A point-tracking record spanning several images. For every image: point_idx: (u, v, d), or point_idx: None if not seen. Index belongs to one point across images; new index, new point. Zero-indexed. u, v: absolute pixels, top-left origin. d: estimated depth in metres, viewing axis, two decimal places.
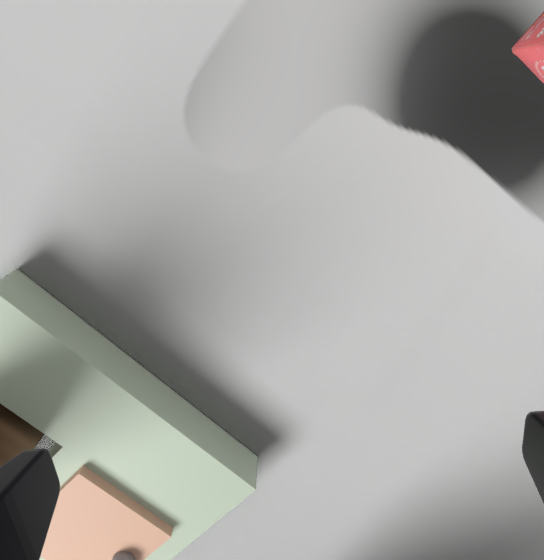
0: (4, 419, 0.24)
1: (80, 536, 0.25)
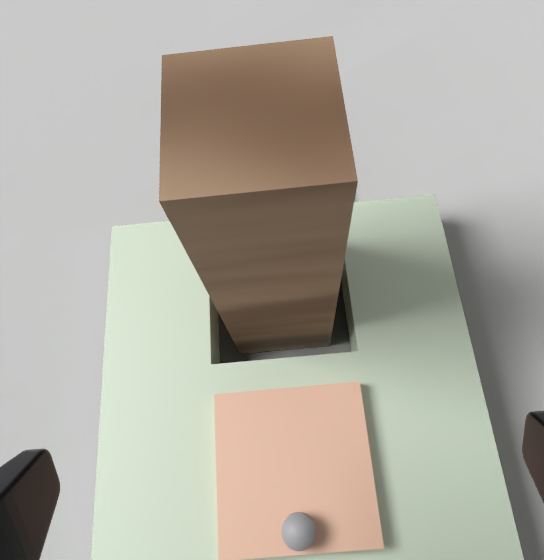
0: None
1: (283, 454, 0.19)
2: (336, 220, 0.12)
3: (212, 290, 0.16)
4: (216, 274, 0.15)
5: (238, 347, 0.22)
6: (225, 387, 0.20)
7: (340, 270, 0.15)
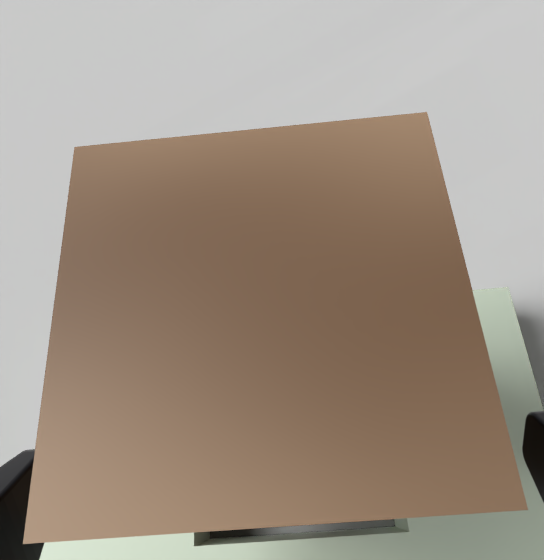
0: None
1: None
2: None
3: None
4: None
5: None
6: None
7: None
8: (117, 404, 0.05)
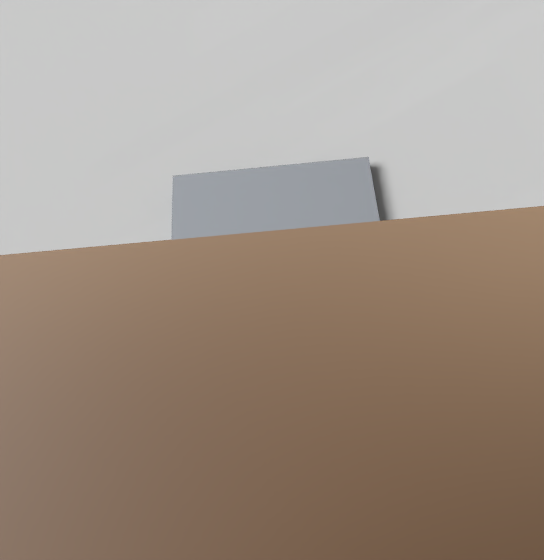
0: None
1: None
2: None
3: None
4: None
5: None
6: None
7: None
8: None
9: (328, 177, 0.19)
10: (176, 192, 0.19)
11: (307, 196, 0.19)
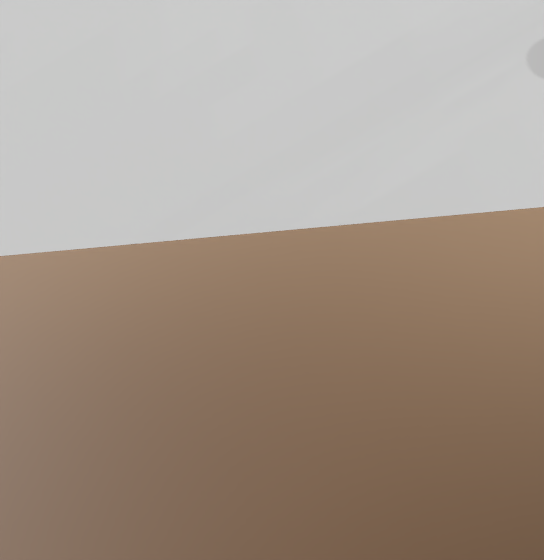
0: None
1: None
2: None
3: None
4: None
5: None
6: None
7: None
8: None
9: None
10: None
11: None
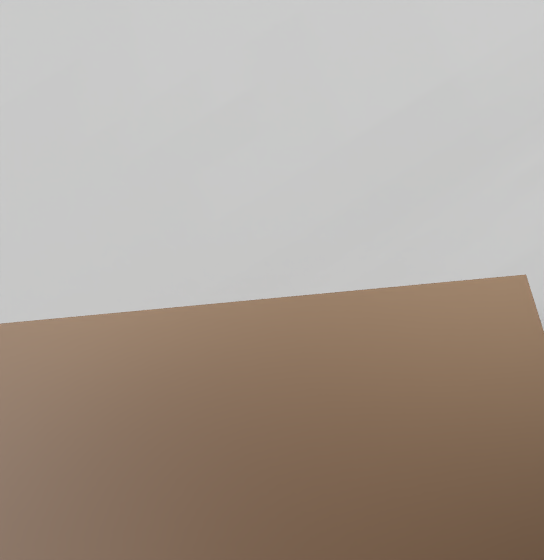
0: None
1: None
2: None
3: None
4: None
5: None
6: None
7: None
8: None
9: None
10: None
11: None
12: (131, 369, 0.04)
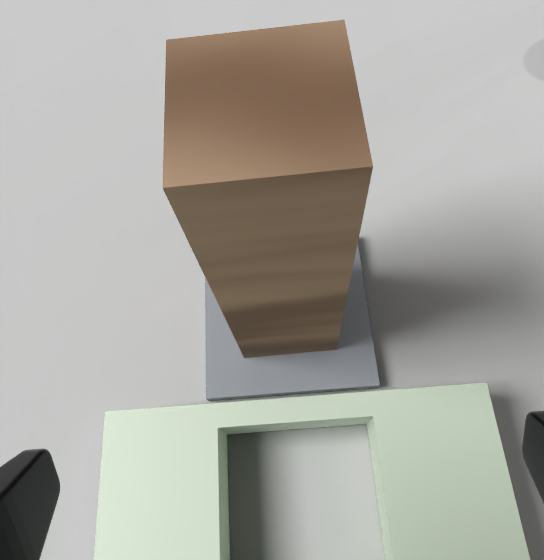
0: None
1: None
2: (348, 211, 0.11)
3: (217, 288, 0.15)
4: (221, 270, 0.14)
5: (242, 351, 0.22)
6: None
7: (350, 267, 0.14)
8: (198, 140, 0.10)
9: None
10: None
11: None
12: (218, 47, 0.12)
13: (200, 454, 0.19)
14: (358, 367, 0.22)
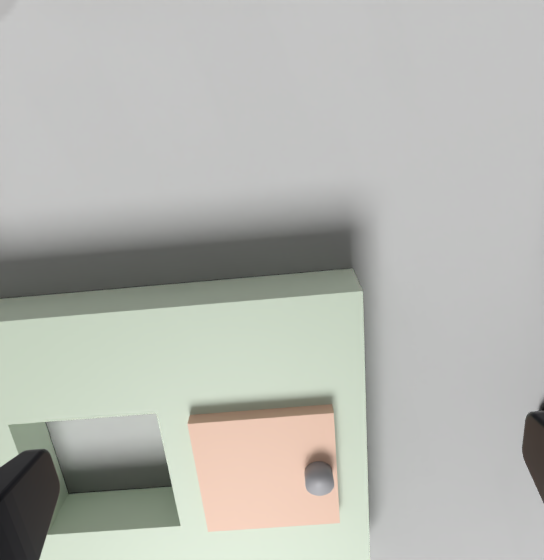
0: None
1: (257, 482, 0.21)
2: None
3: None
4: None
5: None
6: (201, 515, 0.22)
7: None
8: None
9: None
10: None
11: None
12: None
13: (71, 544, 0.23)
14: None
